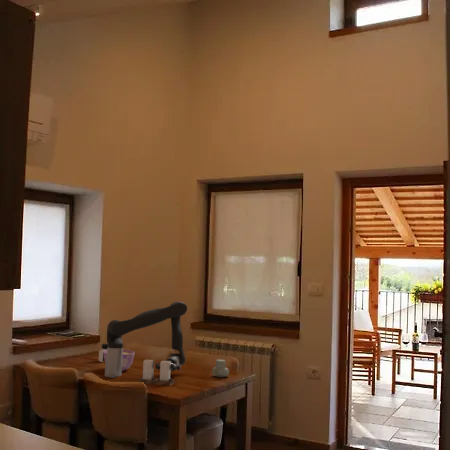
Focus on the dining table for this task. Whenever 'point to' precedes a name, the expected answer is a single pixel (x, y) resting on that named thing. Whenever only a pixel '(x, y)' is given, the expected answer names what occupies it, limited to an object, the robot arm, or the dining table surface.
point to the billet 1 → (148, 370)
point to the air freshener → (220, 369)
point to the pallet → (157, 381)
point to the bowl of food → (124, 358)
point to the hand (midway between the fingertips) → (165, 368)
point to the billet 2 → (165, 371)
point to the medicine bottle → (101, 354)
